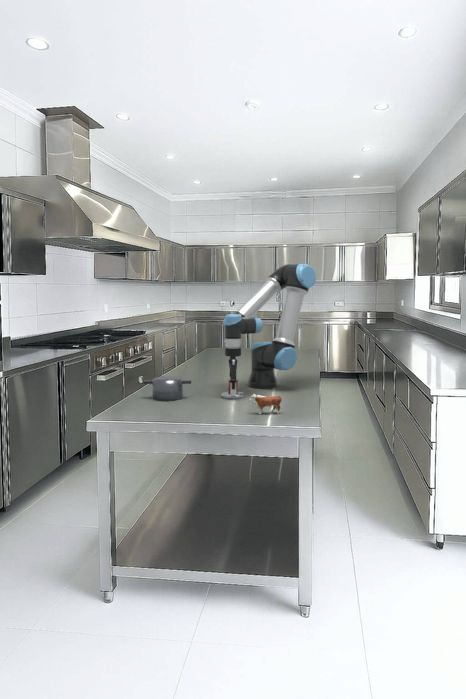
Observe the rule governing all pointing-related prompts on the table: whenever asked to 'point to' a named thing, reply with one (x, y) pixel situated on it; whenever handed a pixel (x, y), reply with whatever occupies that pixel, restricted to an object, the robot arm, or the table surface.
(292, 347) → the robot arm
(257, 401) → the bull figurine
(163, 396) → the pot
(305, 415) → the table surface
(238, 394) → the lid
